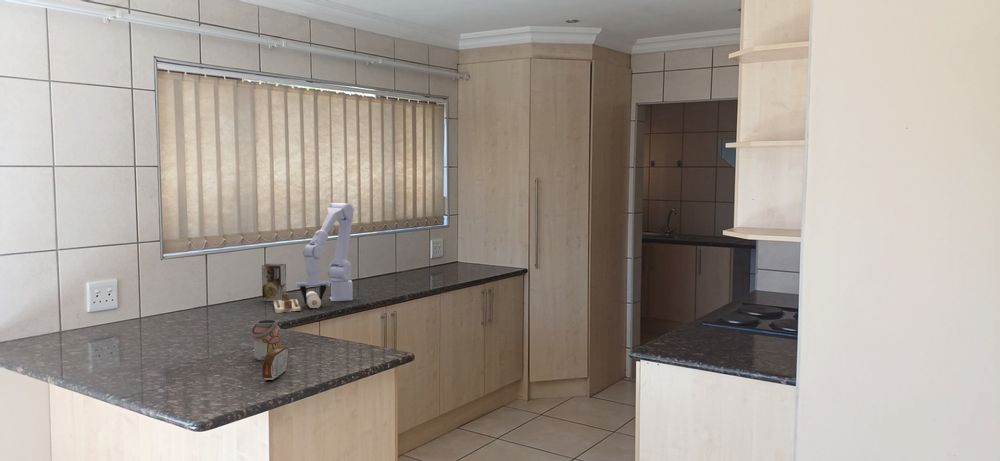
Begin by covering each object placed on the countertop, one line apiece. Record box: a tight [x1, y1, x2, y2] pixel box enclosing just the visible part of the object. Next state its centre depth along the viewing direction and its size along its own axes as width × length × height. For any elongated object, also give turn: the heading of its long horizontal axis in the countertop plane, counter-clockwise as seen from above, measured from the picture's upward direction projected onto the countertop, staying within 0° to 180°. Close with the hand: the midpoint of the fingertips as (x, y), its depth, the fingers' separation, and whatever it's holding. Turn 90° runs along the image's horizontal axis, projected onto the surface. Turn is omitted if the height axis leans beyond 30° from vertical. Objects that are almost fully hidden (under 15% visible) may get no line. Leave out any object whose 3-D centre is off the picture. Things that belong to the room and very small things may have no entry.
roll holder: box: [272, 292, 302, 314], centre depth 314 cm, size 10×20×4 cm, turn 20°
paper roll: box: [306, 290, 322, 309], centre depth 317 cm, size 6×13×6 cm, turn 20°
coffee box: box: [261, 263, 287, 302], centre depth 330 cm, size 9×6×16 cm
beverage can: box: [249, 319, 281, 359], centre depth 235 cm, size 9×8×12 cm
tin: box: [261, 345, 290, 379], centre depth 216 cm, size 15×3×8 cm, turn 176°
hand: (312, 303), depth 318 cm, fingers closed on paper roll, 6 cm apart
